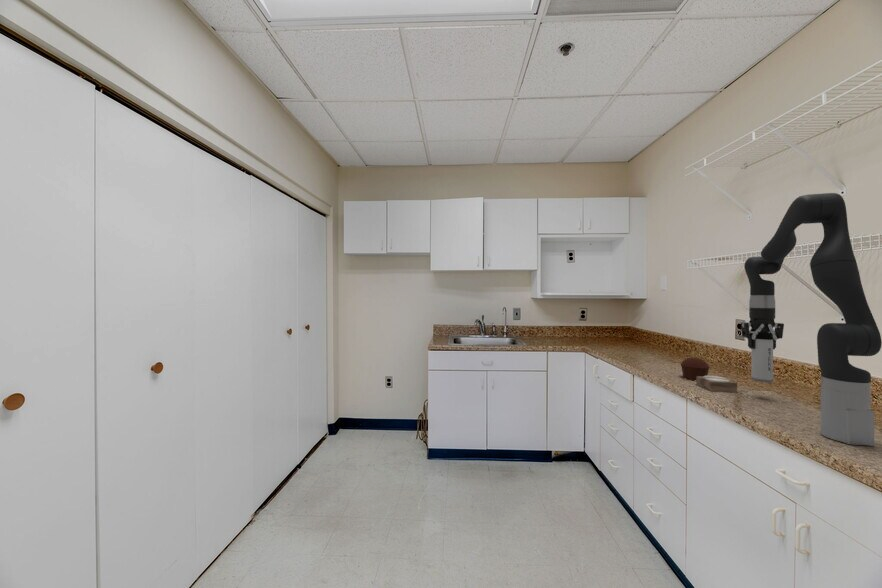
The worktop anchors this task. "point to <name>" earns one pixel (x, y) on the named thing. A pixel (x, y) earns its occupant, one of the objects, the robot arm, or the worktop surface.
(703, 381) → the walnut stand
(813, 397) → the worktop surface
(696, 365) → the muffin
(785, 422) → the worktop surface
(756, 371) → the travel mug
